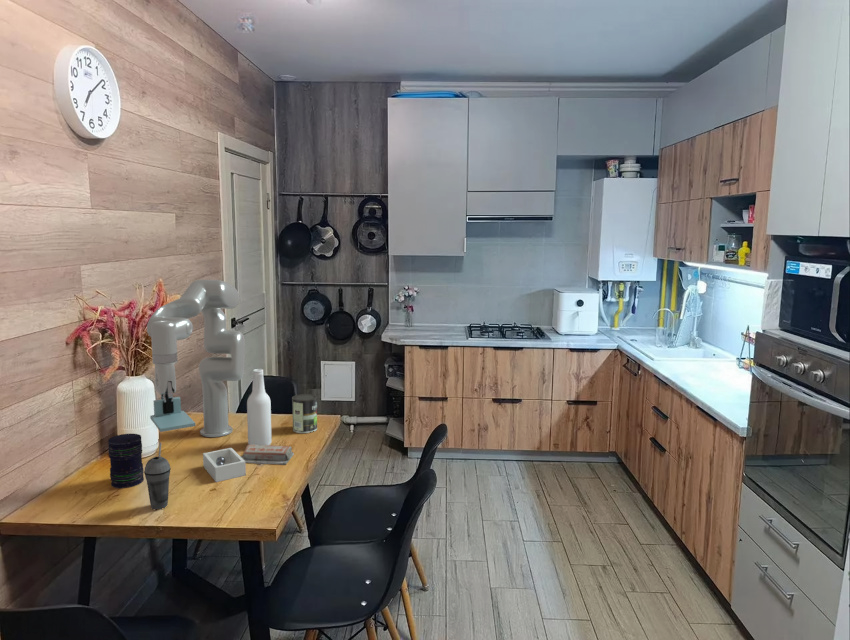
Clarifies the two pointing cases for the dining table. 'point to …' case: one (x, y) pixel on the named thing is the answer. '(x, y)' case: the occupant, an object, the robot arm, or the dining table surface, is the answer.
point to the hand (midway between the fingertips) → (167, 411)
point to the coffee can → (304, 413)
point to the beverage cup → (158, 481)
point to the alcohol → (259, 412)
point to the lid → (170, 416)
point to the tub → (231, 467)
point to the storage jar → (126, 460)
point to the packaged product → (267, 454)
